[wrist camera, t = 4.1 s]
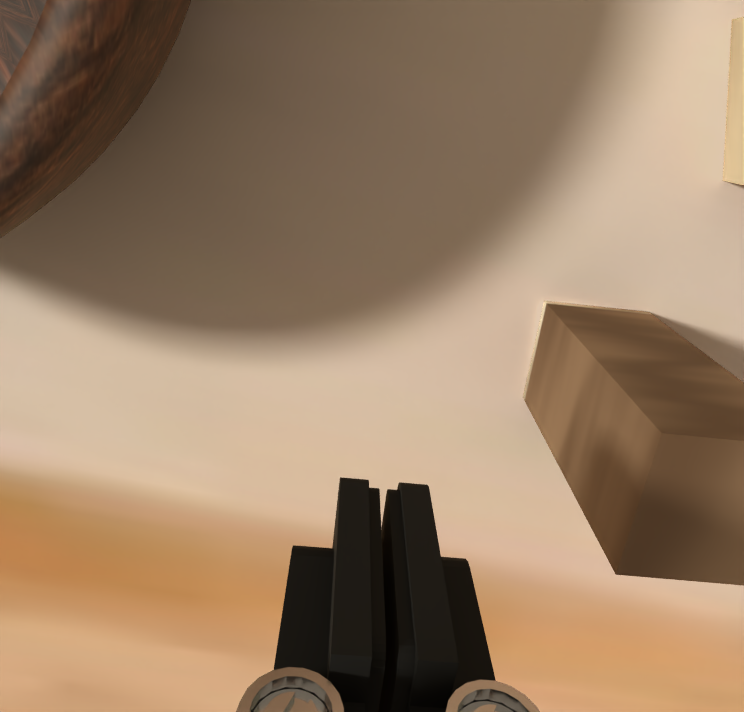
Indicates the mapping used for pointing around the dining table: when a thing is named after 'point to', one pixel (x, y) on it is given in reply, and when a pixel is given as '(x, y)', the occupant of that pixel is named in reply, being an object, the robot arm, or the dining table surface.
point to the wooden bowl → (71, 87)
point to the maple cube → (735, 108)
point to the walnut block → (643, 440)
